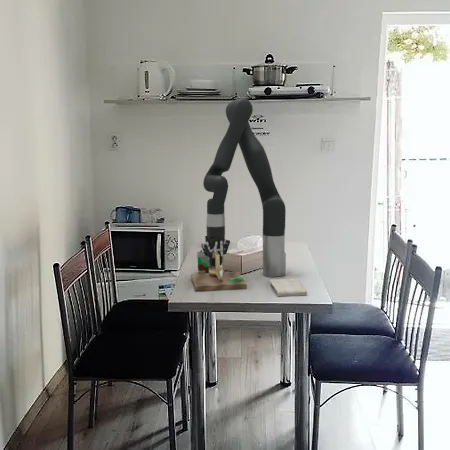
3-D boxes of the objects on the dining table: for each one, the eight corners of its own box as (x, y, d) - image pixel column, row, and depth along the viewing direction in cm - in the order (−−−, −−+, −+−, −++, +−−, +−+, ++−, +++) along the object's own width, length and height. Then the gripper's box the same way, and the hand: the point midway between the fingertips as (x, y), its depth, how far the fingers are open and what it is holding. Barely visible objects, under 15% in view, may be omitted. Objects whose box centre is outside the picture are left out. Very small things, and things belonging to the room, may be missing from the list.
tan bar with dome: (207, 272, 254) (207, 251, 253) (221, 271, 255) (221, 250, 254) (214, 281, 240) (213, 259, 238) (229, 280, 241) (228, 258, 240)
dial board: (238, 276, 257) (238, 267, 256) (246, 288, 238) (246, 280, 237) (191, 278, 254) (191, 270, 253) (195, 291, 235) (195, 282, 235)
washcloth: (297, 283, 246) (297, 276, 246) (308, 296, 229) (308, 288, 228) (268, 285, 245) (268, 277, 245) (277, 298, 228) (277, 290, 227)
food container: (211, 275, 258) (211, 252, 256) (197, 275, 259) (197, 252, 257) (217, 268, 270) (217, 246, 268) (204, 268, 271) (203, 246, 269)
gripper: (223, 221, 255) (223, 261, 258) (196, 225, 246) (196, 266, 249) (235, 223, 249) (235, 264, 252) (207, 227, 240) (207, 270, 243)
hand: (215, 265), depth 251 cm, fingers closed on tan bar with dome, 3 cm apart
